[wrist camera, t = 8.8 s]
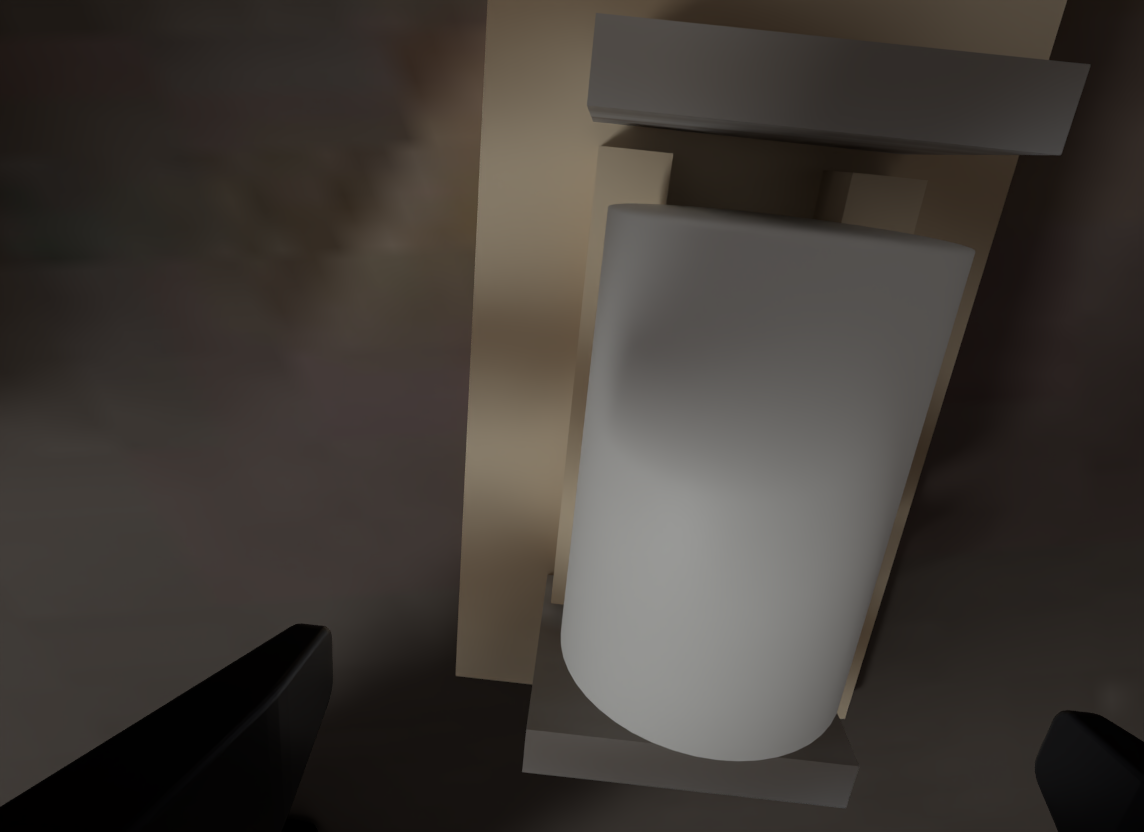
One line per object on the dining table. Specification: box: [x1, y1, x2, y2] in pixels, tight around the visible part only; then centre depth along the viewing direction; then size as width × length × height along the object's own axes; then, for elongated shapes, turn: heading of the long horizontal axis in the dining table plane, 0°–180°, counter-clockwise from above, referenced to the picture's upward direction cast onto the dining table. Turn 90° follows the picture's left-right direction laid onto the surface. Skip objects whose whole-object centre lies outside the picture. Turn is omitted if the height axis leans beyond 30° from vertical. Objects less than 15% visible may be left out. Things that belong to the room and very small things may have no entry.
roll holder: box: [455, 0, 1091, 808], centre depth 15 cm, size 20×12×6 cm, turn 174°
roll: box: [561, 203, 975, 761], centre depth 14 cm, size 9×6×6 cm, turn 174°
